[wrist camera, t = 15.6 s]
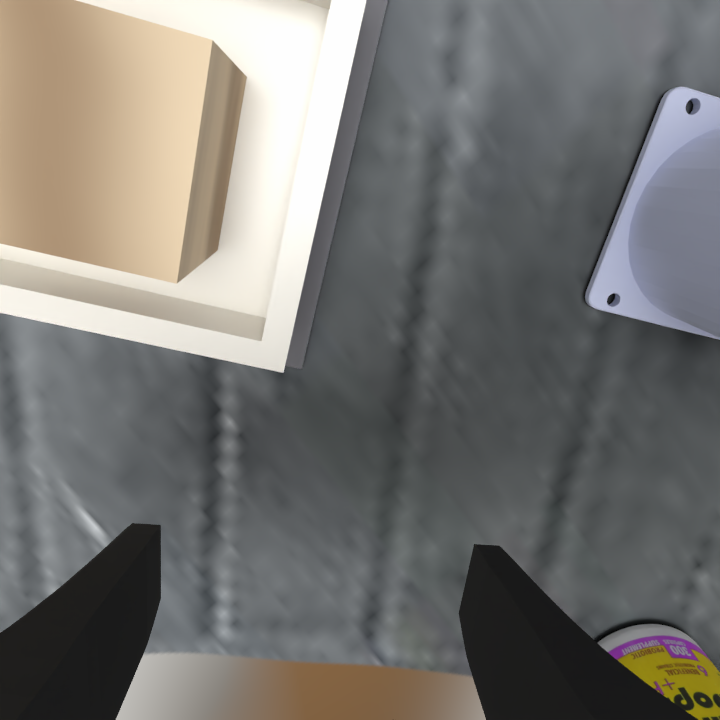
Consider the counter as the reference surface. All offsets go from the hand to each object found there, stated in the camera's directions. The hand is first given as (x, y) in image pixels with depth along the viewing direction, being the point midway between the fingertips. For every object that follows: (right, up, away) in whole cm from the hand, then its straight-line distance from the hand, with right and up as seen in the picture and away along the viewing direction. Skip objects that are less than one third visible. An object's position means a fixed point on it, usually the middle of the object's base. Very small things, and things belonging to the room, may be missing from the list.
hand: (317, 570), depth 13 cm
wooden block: (-5, +11, +3) cm, 13 cm away
